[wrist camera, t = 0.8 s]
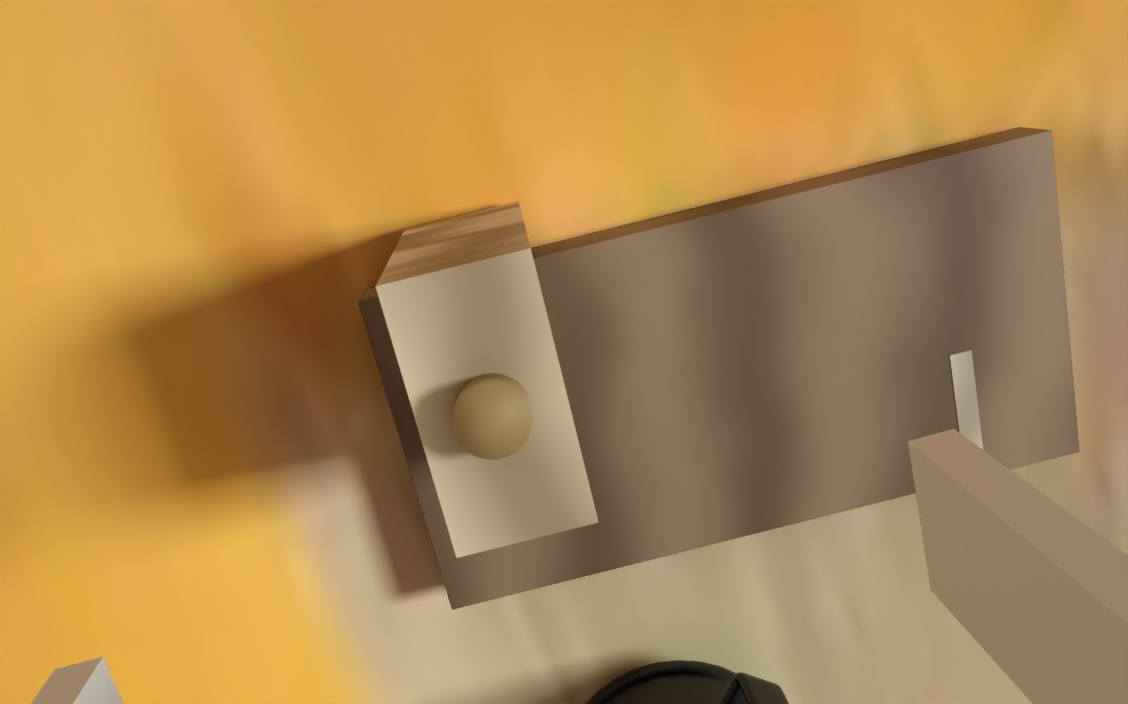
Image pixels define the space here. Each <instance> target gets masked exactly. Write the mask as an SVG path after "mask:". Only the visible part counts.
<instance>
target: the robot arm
mask: <svg viewBox="0 0 1128 704" xmlns="http://www.w3.org/2000/svg"><path fill="white" fill-rule="evenodd" d="M908 445H909V452H910V458H911V465H912V471H913V478H914V484H915V491H916V497H917V504H918V510H919V517H920V523H921V530H922V536H923V543H924V549H925V556H926V562H927V569H928V575H929V582H930V589H931V591H932V592H933V593H934V594H935V595H936V596H937V597H938V599H939V600H940V601H941V602H942V603H943V604H944V605H945V606H946V608H947V609H948V610H949V611H950V612H951V613H952V614H953V615H954V616H955V618H956V619H957V620H958V621H959V622H960V623H961V624H962V625H963V626H964V628H965V629H966V630H967V631H968V632H969V633H970V634H971V635H972V636H973V638H974V639H975V640H976V641H977V642H978V643H979V644H980V645H981V646H982V648H983V649H984V650H985V651H986V652H987V653H988V654H989V655H990V657H991V658H992V659H993V660H994V661H995V662H996V663H997V664H998V665H999V667H1000V668H1001V669H1002V670H1003V671H1004V672H1005V673H1006V674H1007V675H1008V677H1009V678H1010V679H1011V680H1012V681H1013V682H1014V683H1015V684H1016V685H1017V687H1018V688H1019V689H1020V690H1021V691H1022V692H1023V693H1024V694H1025V695H1026V697H1027V698H1028V699H1029V700H1030V701H1031V702H1032V703H1033V704H1128V555H1127V554H1126V553H1124V552H1123V551H1122V550H1120V549H1119V548H1117V547H1116V546H1115V545H1113V544H1112V543H1111V542H1109V541H1108V540H1106V539H1105V538H1104V537H1102V536H1101V535H1100V534H1098V533H1097V532H1095V531H1094V530H1093V529H1091V528H1090V527H1089V526H1087V525H1086V524H1084V523H1083V522H1082V521H1080V520H1079V519H1078V518H1076V517H1075V516H1073V515H1072V514H1071V513H1069V512H1068V511H1067V510H1065V509H1064V508H1062V507H1061V506H1060V505H1058V504H1057V503H1055V502H1054V501H1053V500H1051V499H1050V498H1049V497H1047V496H1046V495H1044V494H1043V493H1042V492H1040V491H1039V490H1038V489H1036V488H1035V487H1033V486H1032V485H1031V484H1029V483H1028V482H1027V481H1025V480H1024V479H1022V478H1021V477H1020V476H1018V475H1017V474H1016V473H1014V472H1013V471H1011V470H1010V469H1009V468H1007V467H1006V466H1005V465H1003V464H1002V463H1000V462H999V461H998V460H996V459H995V458H994V457H992V456H991V455H989V454H988V453H987V452H985V451H984V450H983V449H981V448H980V447H978V446H977V445H976V444H974V443H973V442H971V441H970V440H969V439H967V438H966V437H965V436H963V435H962V434H960V433H959V432H958V431H956V430H955V429H951V430H948V431H944V432H940V433H936V434H933V435H929V436H925V437H921V438H918V439H914V440H910V441H908ZM31 704H124V703H123V701H122V699H121V696H120V694H119V692H118V690H117V687H116V685H115V683H114V681H113V678H112V676H111V674H110V672H109V669H108V667H107V665H106V663H105V660H104V658H103V657H100V658H96V659H93V660H89V661H85V662H82V663H78V664H74V665H70V666H67V667H63V668H59V669H55V670H54V672H53V673H52V675H51V676H50V677H49V679H48V680H47V682H46V683H45V685H44V686H43V687H42V689H41V690H40V692H39V693H38V695H37V696H36V697H35V699H34V700H33V702H32V703H31Z"/></svg>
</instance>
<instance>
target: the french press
mask: <svg viewBox="0 0 1128 704" xmlns="http://www.w3.org/2000/svg"><path fill="white" fill-rule="evenodd" d="M587 704H789V703H788V701H787V699H786V697H785V695H784V693H783V691H782V689H781V688H780V686H778V685H777V684H774V683H771V682H768V681H765V680H762V679H760V678H757V677H754V676H751V675H748V674H745V673H737V674H736V673H734V672H732V671H729V670H727V669H725V668H723V667H720V666H716V665H712V664H707V663H703V662H694V661H671V662H663V663H656V664H652V665H649V666H646V667H642V668H639V669H635V670H633V671H631V672H629V673H627V674H625V675H623V676H621V677H619V678H617V679H615V680H614V681H612V682H611V683H610V684H608V685H607V686H605V687H604V688H603V689H601V690H600V691H599V692H597V693H596V694H595V695H594V696H593V698H592V699H591V700H590V701H589V702H588V703H587Z"/></svg>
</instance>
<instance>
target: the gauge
mask: <svg viewBox="0 0 1128 704" xmlns="http://www.w3.org/2000/svg"><path fill="white" fill-rule="evenodd" d="M375 287H376V290H377V293H378V297H379V300H380V303H381V307H382V310H383V313H384V317H385V320H386V323H387V327H388V330H389V334H390V337H391V340H392V344H393V347H394V350H395V354H396V357H397V360H398V364H399V367H400V370H401V374H402V377H403V380H404V384H405V387H406V390H407V394H408V397H409V401H410V404H411V407H412V411H413V414H414V417H415V421H416V424H417V427H418V431H419V434H420V437H421V441H422V444H423V447H424V451H425V454H426V457H427V461H428V464H429V468H430V471H431V474H432V478H433V481H434V484H435V488H436V491H437V494H438V498H439V501H440V504H441V508H442V511H443V514H444V518H445V521H446V525H447V528H448V531H449V535H450V538H451V541H452V545H453V548H454V551H455V555H456V558H459V557H463V556H467V555H471V554H475V553H479V552H483V551H487V550H491V549H495V548H499V547H503V546H507V545H511V544H515V543H519V542H523V541H527V540H531V539H535V538H539V537H543V536H547V535H550V534H554V533H558V532H562V531H566V530H570V529H574V528H578V527H582V526H586V525H590V524H594V523H598V518H597V514H596V510H595V505H594V501H593V497H592V493H591V489H590V485H589V481H588V477H587V473H586V469H585V465H584V461H583V457H582V453H581V449H580V445H579V441H578V437H577V433H576V429H575V425H574V421H573V417H572V413H571V409H570V405H569V401H568V397H567V392H566V388H565V384H564V380H563V376H562V372H561V368H560V364H559V360H558V356H557V352H556V348H555V344H554V340H553V336H552V332H551V328H550V324H549V320H548V316H547V312H546V308H545V304H544V300H543V296H542V292H541V288H540V284H539V279H538V275H537V271H536V267H535V263H534V259H533V255H532V251H531V247H530V244H529V240H528V236H527V232H526V229H525V225H524V221H523V217H522V214H521V210H520V206H519V202H518V201H517V202H513V203H509V204H505V205H501V206H497V207H493V208H489V209H485V210H481V211H477V212H473V213H469V214H465V215H461V216H456V217H452V218H448V219H444V220H440V221H436V222H432V223H428V224H424V225H420V226H416V227H412V228H408V229H405V230H404V232H403V234H402V236H401V238H400V240H399V242H398V244H397V246H396V248H395V249H394V251H393V253H392V255H391V257H390V259H389V261H388V263H387V265H386V267H385V269H384V271H383V273H382V275H381V277H380V279H379V281H378V282H377V284H376V286H375Z"/></svg>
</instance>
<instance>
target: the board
mask: <svg viewBox="0 0 1128 704" xmlns="http://www.w3.org/2000/svg"><path fill="white" fill-rule="evenodd" d="M531 251H532V255H533V259H534V263H535V267H536V271H537V275H538V279H539V284H540V288H541V292H542V296H543V300H544V304H545V308H546V312H547V316H548V320H549V324H550V328H551V332H552V336H553V340H554V344H555V348H556V352H557V356H558V360H559V364H560V368H561V372H562V376H563V380H564V384H565V388H566V392H567V397H568V401H569V405H570V409H571V413H572V417H573V421H574V425H575V429H576V433H577V437H578V441H579V445H580V449H581V453H582V457H583V461H584V465H585V469H586V473H587V477H588V481H589V485H590V489H591V493H592V497H593V501H594V505H595V510H596V514H597V518H598V523H594V524H590V525H586V526H582V527H578V528H574V529H570V530H566V531H562V532H558V533H554V534H550V535H547V536H543V537H539V538H535V539H531V540H527V541H523V542H519V543H515V544H511V545H507V546H503V547H499V548H495V549H491V550H487V551H483V552H479V553H475V554H471V555H467V556H463V557H459V558H456V555H455V551H454V548H453V545H452V541H451V538H450V535H449V531H448V528H447V525H446V521H445V518H444V514H443V511H442V508H441V504H440V501H439V498H438V494H437V491H436V488H435V484H434V481H433V478H432V474H431V471H430V468H429V464H428V461H427V457H426V454H425V451H424V447H423V444H422V441H421V437H420V434H419V431H418V427H417V424H416V421H415V417H414V414H413V411H412V407H411V404H410V401H409V397H408V394H407V390H406V387H405V384H404V380H403V377H402V374H401V370H400V367H399V364H398V360H397V357H396V354H395V350H394V347H393V344H392V340H391V337H390V334H389V330H388V327H387V323H386V320H385V317H384V313H383V310H382V307H381V303H380V300H379V297H378V293H377V290H376V287H373V288H369V289H365V291H364V293H363V294H362V296H361V298H360V300H359V302H358V303H359V306H360V309H361V313H362V316H363V319H364V323H365V326H366V329H367V332H368V336H369V339H370V342H371V346H372V349H373V352H374V355H375V359H376V362H377V365H378V368H379V372H380V375H381V378H382V382H383V385H384V388H385V391H386V395H387V398H388V401H389V405H390V408H391V411H392V414H393V418H394V421H395V424H396V427H397V431H398V434H399V437H400V441H401V444H402V447H403V450H404V454H405V457H406V460H407V463H408V467H409V470H410V473H411V477H412V480H413V483H414V486H415V490H416V493H417V496H418V500H419V503H420V506H421V509H422V513H423V516H424V519H425V522H426V526H427V529H428V532H429V536H430V539H431V542H432V545H433V549H434V552H435V555H436V558H437V562H438V565H439V568H440V572H441V575H442V578H443V581H444V585H445V588H446V591H447V595H448V598H449V601H450V604H451V608H452V610H453V609H456V608H460V607H464V606H468V605H472V604H476V603H480V602H484V601H488V600H492V599H496V598H500V597H504V596H508V595H512V594H516V593H520V592H524V591H528V590H532V589H536V588H540V587H544V586H548V585H552V584H556V583H560V582H564V581H568V580H572V579H576V578H580V577H584V576H588V575H592V574H596V573H600V572H604V571H608V570H612V569H616V568H620V567H624V566H628V565H632V564H636V563H640V562H643V561H647V560H651V559H655V558H659V557H663V556H667V555H671V554H675V553H679V552H683V551H687V550H691V549H695V548H699V547H703V546H707V545H711V544H715V543H719V542H723V541H727V540H731V539H735V538H739V537H743V536H747V535H751V534H755V533H759V532H763V531H767V530H771V529H775V528H779V527H783V526H787V525H791V524H795V523H799V522H803V521H807V520H811V519H815V518H819V517H823V516H827V515H830V514H834V513H838V512H842V511H846V510H850V509H854V508H858V507H862V506H866V505H870V504H874V503H878V502H882V501H886V500H890V499H894V498H898V497H902V496H906V495H910V494H914V493H916V491H915V484H914V478H913V471H912V465H911V458H910V452H909V445H908V441H910V440H914V439H918V438H921V437H925V436H929V435H933V434H936V433H940V432H944V431H948V430H951V429H955V430H956V431H958V432H959V433H960V434H962V435H963V436H965V437H966V438H967V439H969V440H970V441H971V442H973V443H974V444H976V445H977V446H978V447H980V448H981V449H983V450H984V451H985V452H987V453H988V454H989V455H991V456H992V457H994V458H995V459H996V460H998V461H999V462H1000V463H1002V464H1003V465H1005V466H1006V467H1007V468H1009V469H1013V468H1017V467H1021V466H1025V465H1029V464H1033V463H1037V462H1041V461H1045V460H1049V459H1053V458H1057V457H1061V456H1065V455H1069V454H1073V453H1077V452H1079V441H1078V429H1077V417H1076V406H1075V394H1074V383H1073V371H1072V360H1071V348H1070V336H1069V325H1068V313H1067V302H1066V290H1065V279H1064V267H1063V255H1062V244H1061V232H1060V221H1059V209H1058V198H1057V186H1056V174H1055V163H1054V151H1053V140H1052V130H1043V129H1033V128H1022V127H1019V128H1015V129H1011V130H1007V131H1003V132H999V133H995V134H991V135H987V136H983V137H979V138H975V139H971V140H967V141H963V142H959V143H955V144H951V145H947V146H943V147H939V148H935V149H931V150H927V151H923V152H918V153H914V154H910V155H906V156H902V157H898V158H894V159H890V160H886V161H882V162H878V163H874V164H870V165H866V166H862V167H858V168H854V169H850V170H846V171H842V172H838V173H834V174H830V175H826V176H822V177H817V178H813V179H809V180H805V181H801V182H797V183H793V184H789V185H785V186H781V187H777V188H773V189H769V190H765V191H761V192H757V193H753V194H749V195H745V196H741V197H737V198H733V199H729V200H725V201H721V202H716V203H712V204H708V205H704V206H700V207H696V208H692V209H688V210H684V211H680V212H676V213H672V214H668V215H664V216H660V217H656V218H652V219H648V220H644V221H640V222H636V223H632V224H628V225H624V226H620V227H615V228H611V229H607V230H603V231H599V232H595V233H591V234H587V235H583V236H579V237H575V238H571V239H567V240H563V241H559V242H555V243H551V244H547V245H543V246H539V247H535V248H531Z"/></svg>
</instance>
